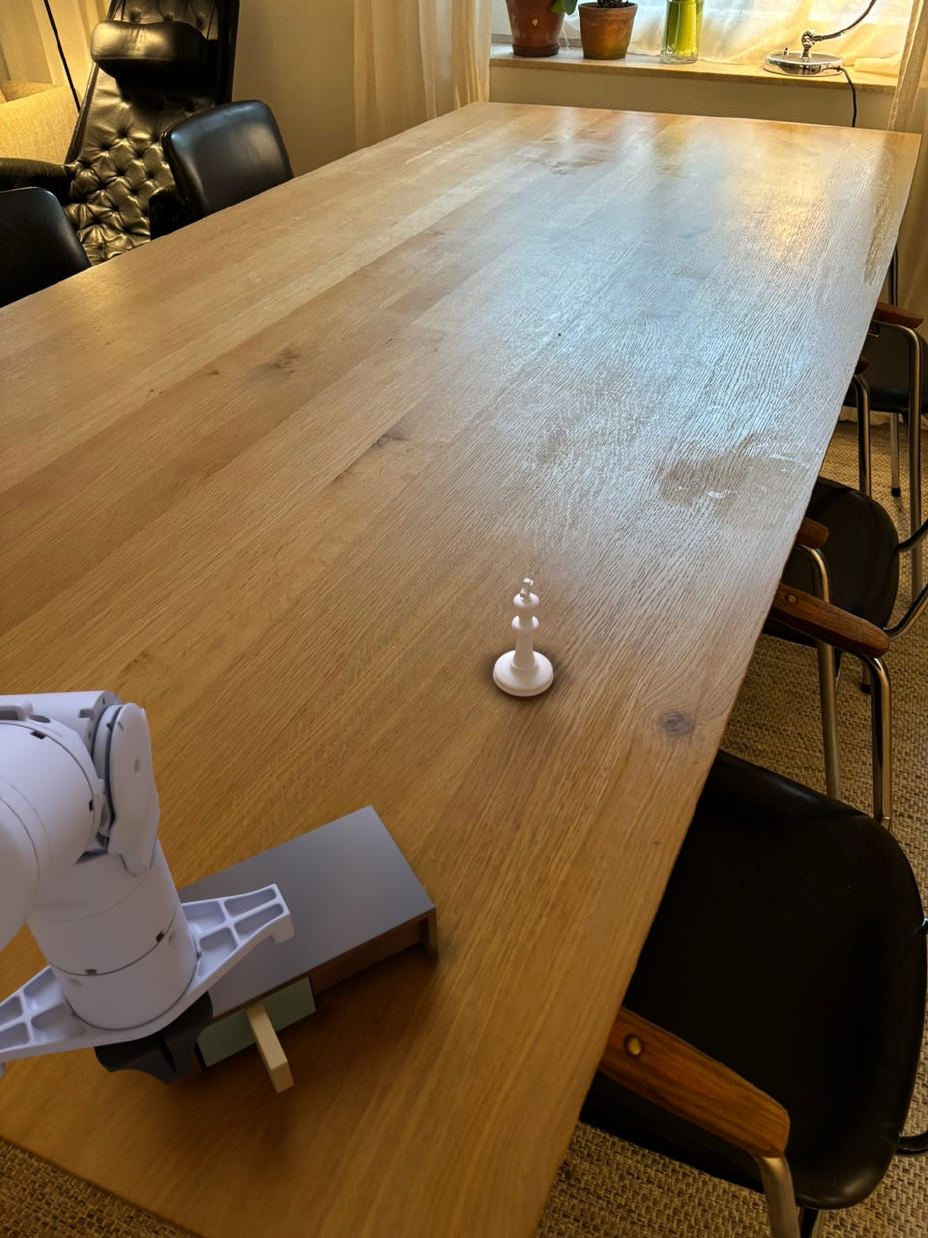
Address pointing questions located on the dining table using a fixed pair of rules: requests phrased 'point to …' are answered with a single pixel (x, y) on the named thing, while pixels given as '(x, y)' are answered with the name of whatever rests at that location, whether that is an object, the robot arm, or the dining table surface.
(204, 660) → the dining table surface
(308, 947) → the cabinet
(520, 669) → the chess piece
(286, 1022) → the sliding door
